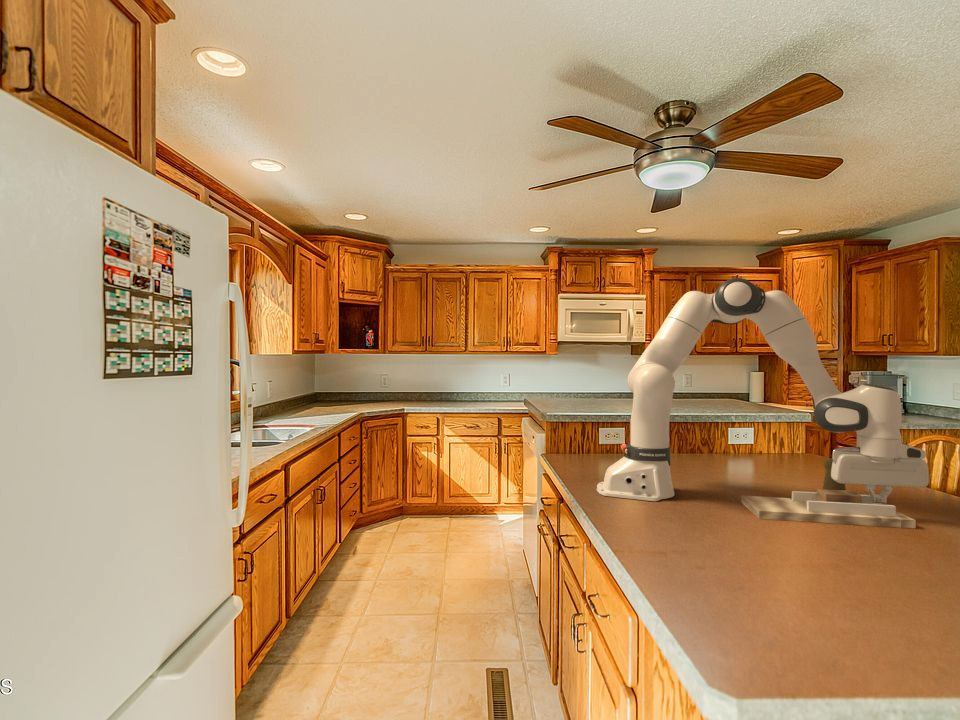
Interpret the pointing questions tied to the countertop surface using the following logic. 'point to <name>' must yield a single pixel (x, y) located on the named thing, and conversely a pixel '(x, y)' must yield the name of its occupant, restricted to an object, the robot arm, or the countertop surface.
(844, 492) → the walnut block
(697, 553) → the countertop surface
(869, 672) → the countertop surface
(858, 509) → the channel walls
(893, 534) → the countertop surface
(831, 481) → the cork
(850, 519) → the board
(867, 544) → the countertop surface
